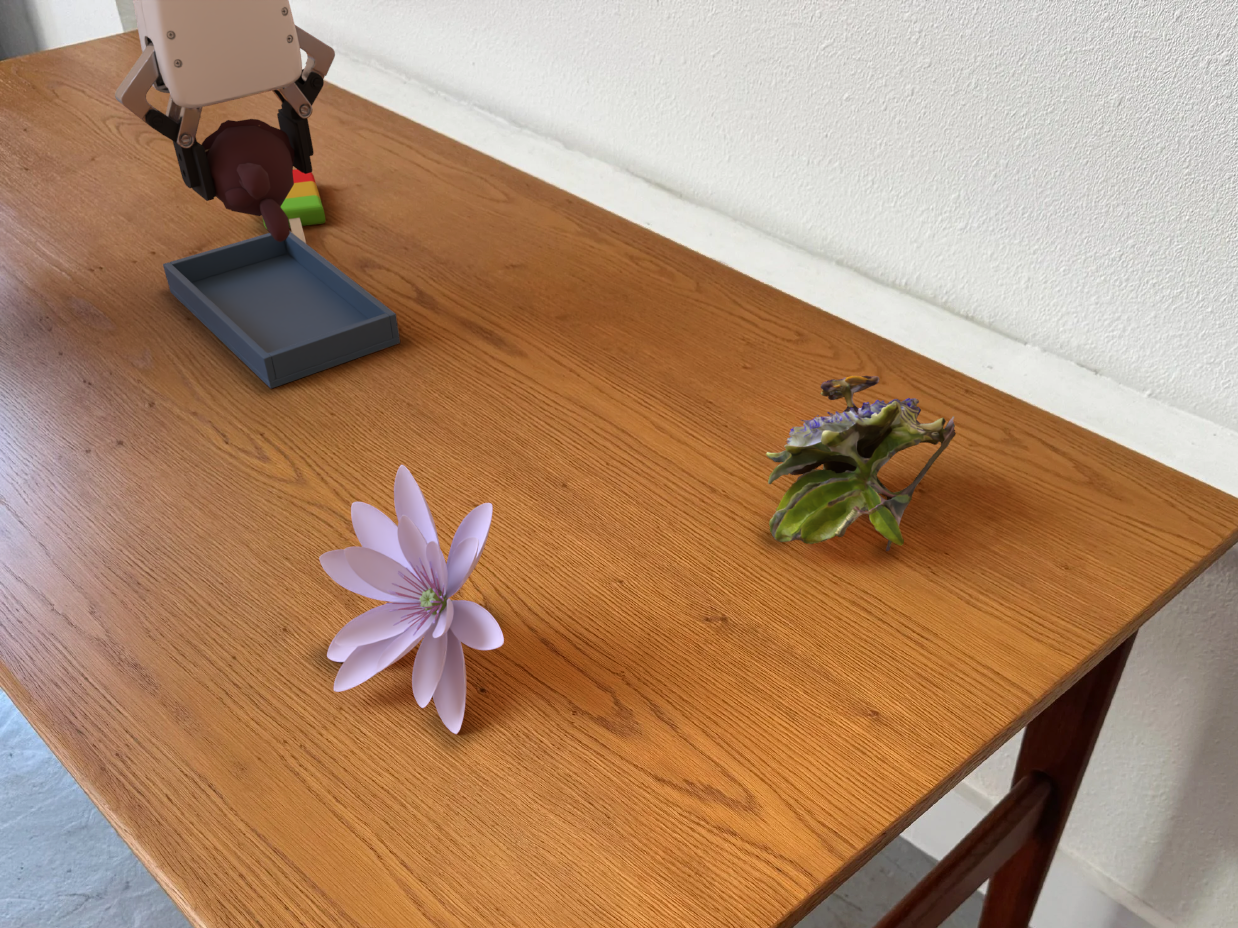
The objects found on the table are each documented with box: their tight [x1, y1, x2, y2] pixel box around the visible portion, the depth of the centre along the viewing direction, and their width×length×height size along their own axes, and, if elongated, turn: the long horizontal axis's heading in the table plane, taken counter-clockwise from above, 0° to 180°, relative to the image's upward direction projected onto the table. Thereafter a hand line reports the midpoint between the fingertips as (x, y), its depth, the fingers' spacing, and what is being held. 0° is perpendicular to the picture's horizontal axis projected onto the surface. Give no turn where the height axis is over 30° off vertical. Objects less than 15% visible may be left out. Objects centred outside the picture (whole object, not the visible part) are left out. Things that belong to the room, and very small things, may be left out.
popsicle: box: [261, 168, 326, 244], centre depth 113 cm, size 6×15×2 cm, turn 17°
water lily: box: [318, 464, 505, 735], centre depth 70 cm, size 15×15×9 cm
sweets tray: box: [162, 231, 401, 389], centre depth 100 cm, size 11×19×3 cm, turn 38°
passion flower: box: [765, 375, 957, 552], centre depth 79 cm, size 11×11×12 cm
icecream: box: [201, 118, 295, 242], centre depth 92 cm, size 7×7×15 cm
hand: (252, 179), depth 93 cm, fingers closed on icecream, 7 cm apart
